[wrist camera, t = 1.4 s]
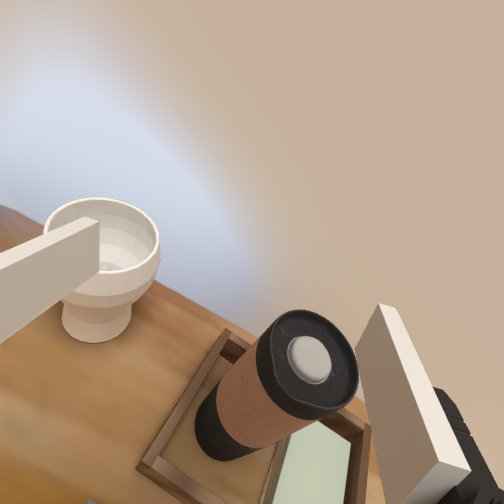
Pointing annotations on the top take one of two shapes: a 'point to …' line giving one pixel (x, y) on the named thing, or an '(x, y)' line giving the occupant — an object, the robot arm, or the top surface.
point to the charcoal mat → (91, 502)
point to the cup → (109, 267)
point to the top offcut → (311, 468)
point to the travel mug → (278, 386)
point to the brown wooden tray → (200, 499)
